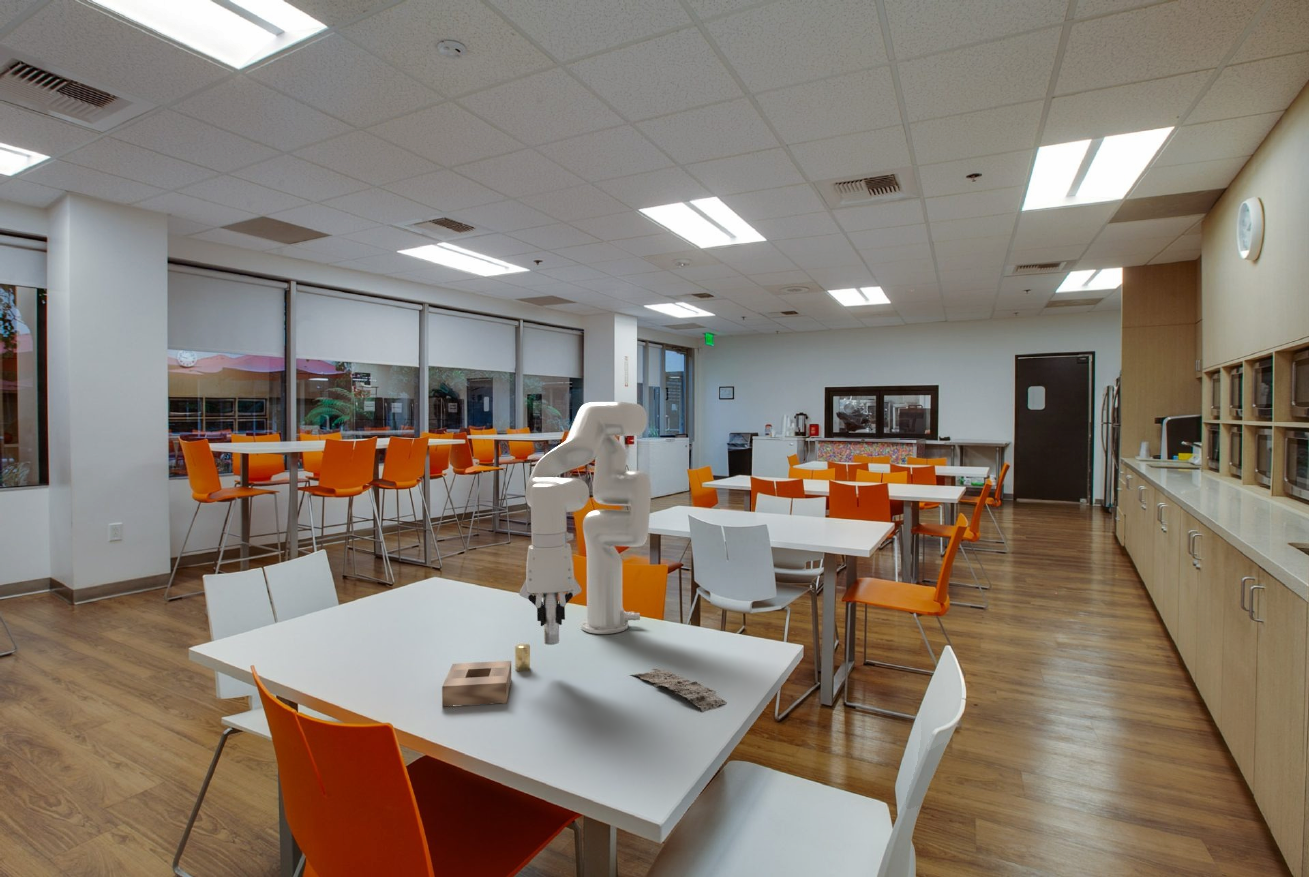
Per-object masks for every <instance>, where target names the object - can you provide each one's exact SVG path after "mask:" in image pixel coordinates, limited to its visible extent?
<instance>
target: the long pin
mask: <svg viewBox="0 0 1309 877" xmlns="http://www.w3.org/2000/svg"><path fill="white" fill-rule="evenodd" d="M542 600H543V601H542V602H543V607H544V625H543V634H544V635H543V637H544V638H543V641H544V644H545V645H547V646H549V645H550V646H552V645H557V644H559V643H560V625H559V624H558V604H559V593H543V594H542Z"/></svg>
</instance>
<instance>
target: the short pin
mask: <svg viewBox="0 0 1309 877" xmlns="http://www.w3.org/2000/svg"><path fill="white" fill-rule="evenodd" d="M514 648H515V649H514V652H515V653H514V654H515V655H514V656H515V658H514V659H515V660H514V662H515V665H514V666H515V668H514V669H515V671H516V672H528V671H529V670H530V669H531V655H530V654H531V645H530V644H528V643H520V644H516V645H515V646H514Z"/></svg>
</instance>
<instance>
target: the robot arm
mask: <svg viewBox="0 0 1309 877" xmlns="http://www.w3.org/2000/svg"><path fill="white" fill-rule="evenodd" d="M647 424H648V415H647V412H646V410H645V408H644V406H642V405H641V404H638V403H633V402H626V401H593V402H587V403H584V404H582V405H581V406H580V407H579V409H578V410H577V413H576V415H575V417H574V420H573V422H572V423H571V427H570V430H569V431H568V433H567V436H566V439H565V441H564V442H562V443H561V444H559V445H558V446H555V447H554V448H553V449H551V450H550V451H549V452H547V453H546V454H545V455H543V456H542V457H541V458H540V459H539V460H538V461H537V462H536V463H535V466H534V467H533V470H532V471H531V474H530V476H529V478H528V481H527V483H526V487H525V492H524V494H525V495H524V496H525V501H526V504H527V505H528V506H529V507H530V524H531V525H530V526H531V530H530V531H531V534H530V535H531V544H530V545H528V548H527V554H526V555H527V556H526V569H525V570H526V577H525V578H526V579H525V581H524V582H523V585H522V587H521V588H520V590H519V596H520V597H522V598H525V599H526V600H529V601H530V602H531V603H532V605H534V606H535V607H536V611H537V612H536V614H537V619H536V621H537V622H540V627H544V607H543V601H542V600H543V593H558V599H559V600H558V624H559V626H562V625H563V620H566V617H565V616H566V611H565V609H566V608H565V607H566V605H567V604H568V603H569V601H571V600H572V598H573V597H575V596H577V595H579V594H580V593H582V587H581V586H580V584H579V583H578V581H577V579H576V578H575V570H574V558H573V551H572V546H571V543H568V542H569V541H572V540H574V533H570V532H568V531H567V530H568V529H567V528H568V527H567V526H568V525H567V523H568V522H567V513H571V512H577V511H580V510H582V509H583V508H584V507H585V506H586V505H587V504H588V502H589V499H590V489H589V486H588V484H587V483H586V482H585V481H584V480H583V479H580V478H578V477H577V478H576V477H561V476H560V475H562V474H564V473H565V472H569V471H571V470H575V469H578V468H580V467H583V466H586V465H588V464H590V463H592V462H593V461H594V470H593V482H592V497H593V500H594V502H596V503H598V504H599V505H605V506H628V507H630V509H629V510H628V509H626V510H625V509H606V508H605V509H599V508H598V509H594V510H592V511H591V510H590V511H589V512H588V513H587V514H586V515H585V516H584V518H583V522H582V532H583V537H584V542H585V551H586V552H585V553H586V554H585V555H586V619H585V620H583V621H581V624H580V625H581V627H580V628H581V629H582V631H584V632H586V633H590V634H596V635H612V634H617V633H622V632H623V631H625V630H627V629H628V628H629V621H640V620H641V614H640V612H635V611H626V610H625V609H624V607H623V560H622V557H621V555H620V553H619V551H618V550H617V548H616V547H629V548H630V547H634V548H635V547H637V548H638V547H642V546H643V545H645V544H646V542H647V540H648V535H649V526H650V515H651V514H650V513H651V500H652V499H651V498H652V485H651V484H652V483H651V480H650V477H649V475H648V474H647V473H646V472H645V471H642V470H631V469H630V470H628V469H626V468H627V451H626V449H625V447H624V446H623V444H622V443H621V442H620V440H619V439H618V438H617V437H618V436H621V437H622V436H627V437H628V436H629V437H630V436H631V437H633V436H634V437H635V436H641V435H642V434H643V433H644V431H645V430H646V428H647V426H648V425H647ZM616 436H617V437H616ZM558 476H560V477H558Z"/></svg>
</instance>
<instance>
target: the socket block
mask: <svg viewBox="0 0 1309 877" xmlns="http://www.w3.org/2000/svg"><path fill="white" fill-rule="evenodd" d="M511 683H512V660H502V661H501V660H500V661H499V660H497V661H481V662H479V661H478V662H463V663H460V662H459V663H452V665H451V667H450V669H449V671H448V674H447V676H446V677H445V680H444V682H443V684H442V685H441V694H442V695H441V702H442V703H441V706H453V705H470V706H479V705H478V704H486V705H492V704H491V703H502V704H507V703H508V696H509V692H510V687H511Z"/></svg>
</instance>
